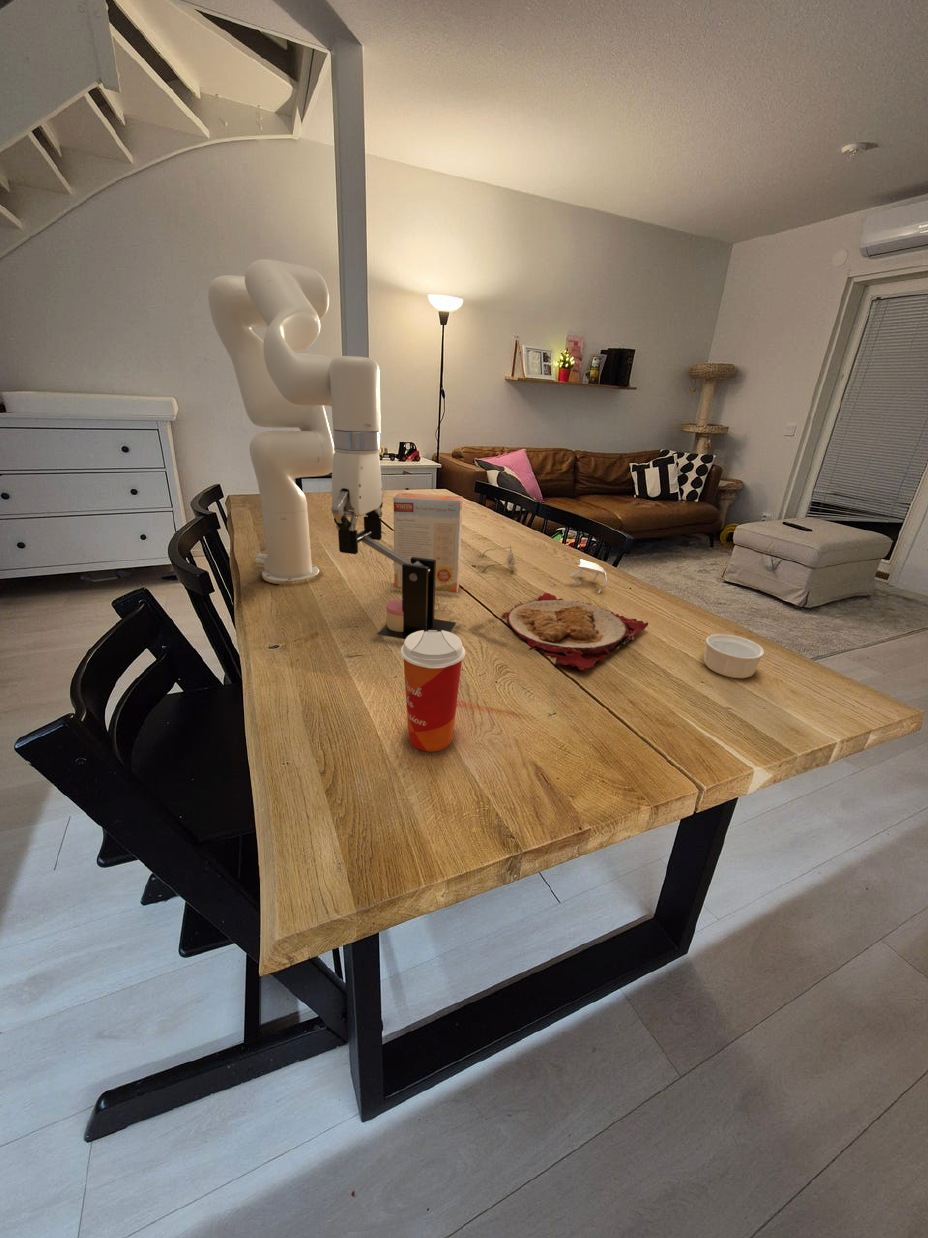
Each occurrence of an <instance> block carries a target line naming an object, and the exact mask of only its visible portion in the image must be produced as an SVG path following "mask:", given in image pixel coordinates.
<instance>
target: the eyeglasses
mask: <svg viewBox="0 0 928 1238" xmlns="http://www.w3.org/2000/svg"><path fill="white" fill-rule="evenodd" d="M502 549H504V550H505V549H509V554H508V555H507V556H508V560H509V562H508V563H507V562H506V563H501V564H499V566H504V565H511V569H512V572H514V571H515V556H514V555H515V554H514V553H513V548H512V545H510V546H507V547H500V548H498V550H502ZM494 550H496V548H492V549H490V551H494ZM488 551H489V549H486V550H485V551H484V552H483V554H482V555H481V557H484V555H485V554H486V552H488ZM495 566H497V564H493V565H487V566H486V567H485V568H484V570H483V571H482V573H484V572H485V571H486V570H487V568H489V567H495Z"/></svg>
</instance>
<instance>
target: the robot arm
mask: <svg viewBox="0 0 928 1238" xmlns="http://www.w3.org/2000/svg"><path fill="white" fill-rule="evenodd" d="M207 296H208V306H209V310H210V311H209V312H210V315H211V320H212V324H213V326H214V328H215V331H216V333H217V335H218V337H219V339H220V341H221V342H222V344H223V347H224V348H225V350H226V352H227V354H228V356H229V359H230V360H231V363H232V366H233V369H234V374H235V376H236V381H237V385H238V388H239V391H240V395H241V399H242V403H243V406H244V409H245V412H246V414H247V416H248V419H249V420H250V422H251V423H252V424H253V425H255V426H258V427H262V428H272V429H273V428H274V429H277V428H278V429H279V428H285V429H286V428H288V429H289V428H291V429H293V428H294V429H297V428H298V429H299V430H268V431H262V432H260V433H258V434H255V436H253V437H252V439H251V440H250V443H249V455H250V459H251V464H252V466H253V470H254V474H255V478H256V482H257V487H258V492H259V500H260V506H261V507H260V508H261V515H262V523H263V525H262V526H263V533H264V541H265V549H266V553H257V554H256V555H255V556H256V557H255V558H254V564H255V565H262V566H263V570H262V571H261V577H262V579H263V580H264V581H265V582H268V583H270V584H274V585H281V584H283V583H285V582H293V581H302V580H306V579H310V578H313V577H315V576H317V575H318V574H319V573H320V568H319V567H317V566H316V565H314V564H313V563H312V551H311V537H310V526H309V525H310V523H309V513H308V502H307V497H306V494H305V493H304V492H303V490H301V488H300V487H299V486H298V485H297V483H296V482H295V479H299V478H311V477H323V476H327V475H329V474H331V507H330V510H331V513H332V515H333V522H334V523H335V524H336V525H335V528H336V530H337V531H338V532H337V537H338V551H339V552H340V553H343V554H351V555H357V554H358V553H359V543H358V537H357V533H358V530H357V529H356V526H357V523H358V518H359V517H361V516H363V530H365V529H369V530H370V531H371V536H369V537H370V538H372V539H373V540H375V541H380V540H382V536H383V535H382V517H383V511H382V508H383V505H384V502H383V498H384V493H385V492H384V489H383V483H382V470H381V469H382V468H381V460H380V458H381V457H380V454H381V453H382V432H381V427H382V426H381V380H380V378H381V374H380V367H379V364H378V362H377V361H376V360H375V359H373V358H370V357H365V356H356V355H338V356H337V355H336V356H334V355H333V356H332V355H329V354H327V355H326V354H317V353H307V352H306V353H305V352H304V351H305V350H307V349H310V347H311V346H312V345H314V343H315V342H316V341H317V339H318V337H319V335H320V332H321V321H322V320H323V318H324V317H325V316H326V314H327V313H328V311H329V308H330V307H329V305H330V294H329V289H328V285H327V283H326V280H325V279H324V277H323V276H322V274H321V273H320V272H318V271H317V270H316V269H314V268H312V267H310V266H305V265H300V264H296V263H292V262H285V261H281V260H276V259H270V258H261V259H258V260H255V261H252V263H250V264H249V265H248V267H247V269H246V271H245V273H244V275H236V274H235V275H233V274H228V275H227V274H226V275H220V276H217V277H215V278H213V279H212V280H211V282H210V283H209V286H208V295H207ZM253 328H254V329H255V328H256V329H262V330H266V332H265V333H264V339H262V338H261V337H260V336H259V335H257V334H256V332H255V331H253ZM303 352H304V353H303ZM325 406H327V407H331V416H332V417H331V419H332V433H331V429H330V425H329V421H328V417H327V414H326V409H325ZM364 515H365V516H364ZM348 518H350V520H349V519H348Z"/></svg>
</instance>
